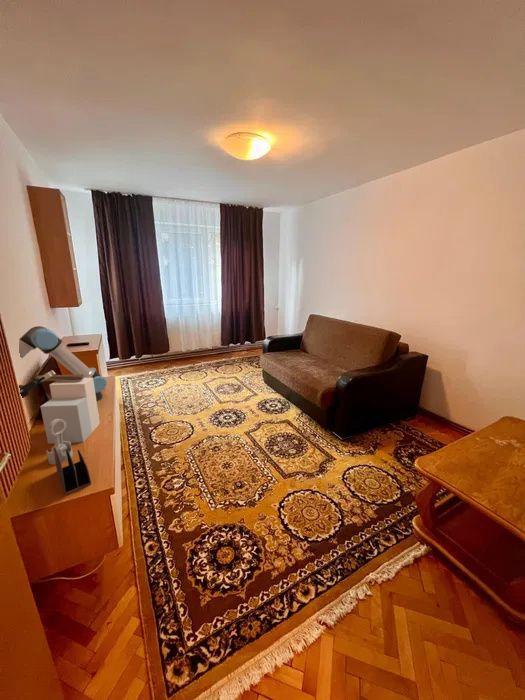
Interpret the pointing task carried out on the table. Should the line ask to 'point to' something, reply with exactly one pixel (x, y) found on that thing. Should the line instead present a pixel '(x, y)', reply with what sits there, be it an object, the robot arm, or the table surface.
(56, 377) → the walnut axle bar
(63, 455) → the engine component
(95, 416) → the stepped parts shelf
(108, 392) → the table surface
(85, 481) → the letter holder
